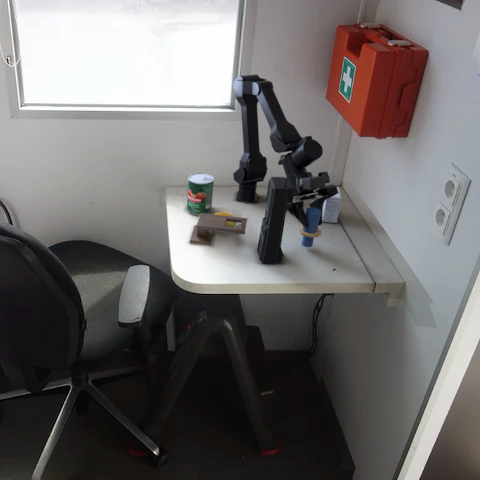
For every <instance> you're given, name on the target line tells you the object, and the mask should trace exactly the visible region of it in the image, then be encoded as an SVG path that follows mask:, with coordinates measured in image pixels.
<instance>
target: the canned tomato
mask: <svg viewBox="0 0 480 480" xmlns="http://www.w3.org/2000/svg"><path fill="white" fill-rule="evenodd" d="M187 179H188V180H187V197H186V211H187V213H189V214H190V215H193V216H200V213H206V214H211V212H212V206H213V196H214V195H213V194H214V180H215V178H214V176H213V175H211V174H209V173H205V172H194V173H191V174H190V175H188V177H187Z"/></svg>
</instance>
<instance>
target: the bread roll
mask: <svg viewBox="0 0 480 480" xmlns="http://www.w3.org/2000/svg"><path fill="white" fill-rule="evenodd" d="M214 214H215V215H223V216H232V217H235V216H234V215H233V214H231V213H230V212H226V211H219V212H216V213H214ZM237 224H238V223H236V222H227V221H226V225H225V226H229V227H237ZM213 231H214V230H213ZM229 233H230V232H222V231H214V234H229Z"/></svg>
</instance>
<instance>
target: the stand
mask: <svg viewBox="0 0 480 480" xmlns="http://www.w3.org/2000/svg"><path fill="white" fill-rule="evenodd" d="M215 214H216V213H214V214H213V213H209V214H206V213H200V215H198V219H197V223H196V224H194V225H193V226H194V227H193V229H192V233H191V236H190V239H189V244H195V245H202V246H203V245H205V246H212V243H213V238H214V234H215V232H214V231H222V232H229V233H230V234H239V235H246V229H247V225H248V224H247V223H248V218H247V217H241V216H234V217H232V216H223V215H215ZM226 221H227V222H236V223H237V224H240V227H238V226H236V227H229V226H225V225H226ZM213 230H214V231H213Z"/></svg>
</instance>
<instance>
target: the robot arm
mask: <svg viewBox="0 0 480 480" xmlns="http://www.w3.org/2000/svg"><path fill="white" fill-rule="evenodd" d="M232 89H233V92H234V98H235V100H236V101H237V102H238V104H239V105H240V112H241V126H242V127H241V128H242V144H243V154H242V156H241V157H240V160H239V167H238V169H236V170H235V171H234V172H233V174H232V175H233V176H232V177H233V180H234V182H236V183H237V184H238V191H236V197H235V201H238V202H246V203H254V204H255V203H256V202H257V197H258V192H257V186H258V183H261V182H264V181H265V178H266V175H267V174H268V170H269V169H268V165H267V164H268V163H267V162H268V158H267V157H266V156H264V155H263V154H262V152H261V148H260V131H259V115H258V114H259V113H258V103H259V105H260V108H261V110H262V112H263V114H264V117H265V119H266V122H267V123H268V126H269V130H270V133H269V140H270V144H271V147H272V149H273V151H274V152H275V153H277V154H281V155H280V157H279V159H278V161H277V165H278V166H282V167H283V171H284V174H285V178H289V179H290V181H291V184H292V186H293V196H292V198H291V199H289V200H288V203H287V210H286V212H289V214H291V215H292V216H293V217H294V218H295V219H296V220H297V221H298V222H299V223H300V225H303V226H304V227H305V228H309V225H308V221H307V218H306V215H305V212H306V211H305V208H304V203H305V201H308V200H310V203H309V204H308V208H309V207H314V208H318V209H320V210H321V215H320V220H319V225H318V227H320V226H323V221H322V212H323V204H324V202H325V200H326V199H329V198H331V197H332V196H334V195H336V194H338V193H339V192H338V189H337V187H338V186H336V185H335V184H330V182H331V179H330V178H331V177H330V175H329V173H328V171H320V172H318V173H317V175H315V176H313V173H312V172H311V171H308V170H307V167H309V166H311V165H312V164H313V163H314V162H316V161H317V160H319V159H320V158H322V156H323V152H324V148H323V146H322V144H321V143H320V142H319V141H317V140H315V139H313V136H312V135H306V136H303V137H302V135H300V133H299V131H298V129H297V128H296V126H295V125H294V124H292V123H291V122H290V121H288V119H287V117H286V116H285V113H284V111H283V109H282V107H281V104H280V102H279V99H278V97H277V95H276V92H275V90H274V84H273V82H272V81H270V80H268V79H267V78H262V77H260V76H259V75H258V74H256V73H255V74H245V75H244V74H243V75H238V76H236V78H235V80H234V81H233V83H232ZM283 153H286V154H283ZM327 184H328V185H327Z"/></svg>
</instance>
